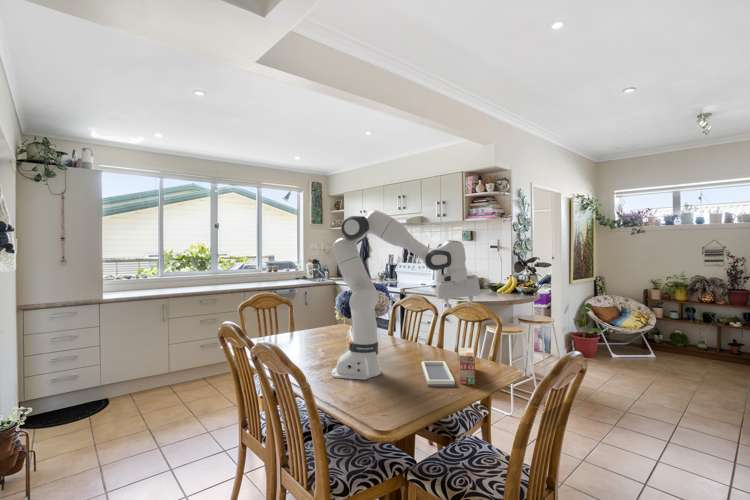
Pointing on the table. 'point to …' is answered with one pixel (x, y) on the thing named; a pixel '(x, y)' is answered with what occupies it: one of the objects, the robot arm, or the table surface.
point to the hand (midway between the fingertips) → (459, 307)
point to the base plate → (437, 374)
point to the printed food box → (466, 366)
